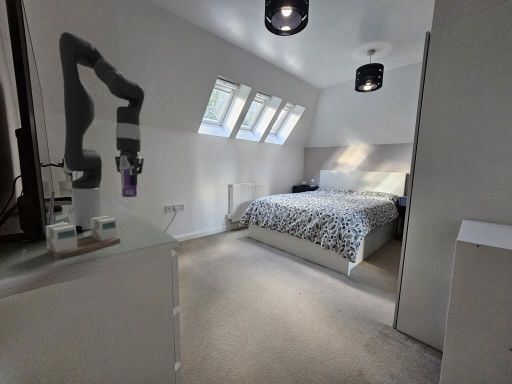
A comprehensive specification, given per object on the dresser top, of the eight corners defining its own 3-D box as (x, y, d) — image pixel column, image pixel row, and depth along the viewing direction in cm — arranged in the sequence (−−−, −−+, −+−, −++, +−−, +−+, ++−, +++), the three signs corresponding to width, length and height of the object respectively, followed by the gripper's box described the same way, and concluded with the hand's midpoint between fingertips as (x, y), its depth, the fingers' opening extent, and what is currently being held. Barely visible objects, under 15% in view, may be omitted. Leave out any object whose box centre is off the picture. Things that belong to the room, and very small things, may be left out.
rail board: (47, 252, 67) (45, 225, 66) (106, 237, 82) (105, 215, 80) (60, 259, 62) (58, 231, 61) (120, 242, 77) (119, 219, 76)
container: (139, 195, 82) (139, 156, 80) (131, 197, 77) (130, 155, 75) (128, 195, 82) (127, 155, 80) (119, 196, 78) (118, 155, 76)
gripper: (106, 136, 77) (107, 183, 79) (130, 136, 70) (131, 187, 73) (127, 139, 84) (127, 182, 86) (150, 139, 77) (151, 186, 79)
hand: (129, 184), depth 79 cm, fingers closed on container, 4 cm apart
